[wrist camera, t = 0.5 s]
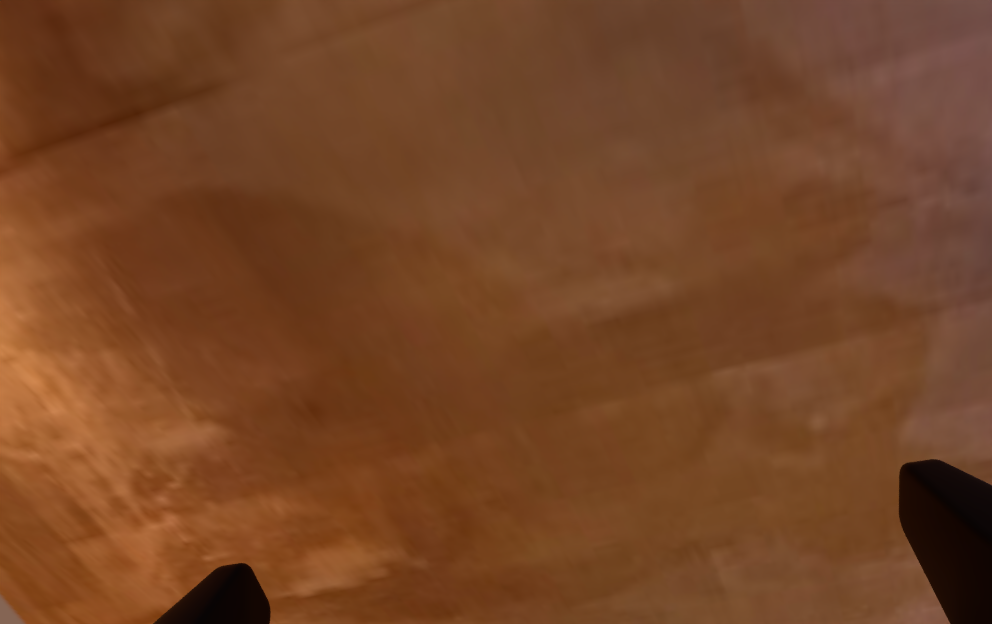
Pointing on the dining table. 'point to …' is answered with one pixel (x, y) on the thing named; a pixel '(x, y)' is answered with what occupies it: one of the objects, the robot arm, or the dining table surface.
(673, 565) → the dining table surface
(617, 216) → the dining table surface
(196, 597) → the robot arm
